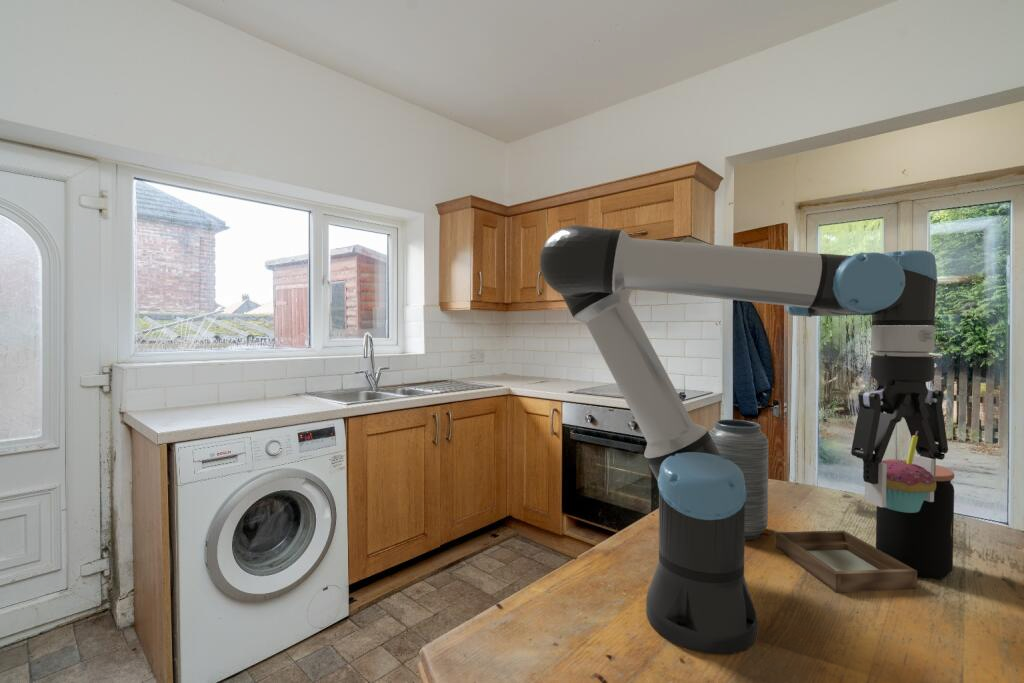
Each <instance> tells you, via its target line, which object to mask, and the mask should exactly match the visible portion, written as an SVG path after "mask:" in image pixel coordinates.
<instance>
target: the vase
mask: <svg viewBox="0 0 1024 683" xmlns="http://www.w3.org/2000/svg"><path fill="white" fill-rule="evenodd" d="M708 432H709V434H710V436H711V438H712V440H713V442H714V443H715V445H716V447H717V449H718V451H719V453H720V454H721V455H722V456H723V457H724V459H725V460H730V461H731V462H733V463H734V464H736V465H737V466H738V467H739V468H740V469H741V471H742V473H743V475H744V481H745V486H746V494H747V495H746V500H745V525H744V541H747V540H754V539H757V538H759V537H760V534H762V533H763V532H764V531H765V530H766V529H767V526H768V522H769V521H768V520H769V519H768V518H769V517H768V516H769V515H768V514H769V438H768V436H767V435H766V434H765V432H763V431H762V430H761V424H759V423H758V422H754V421H750V420H742V419H718V420H716V421H715V422H714V427H713V428H712V429H710V431H708Z"/></svg>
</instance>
